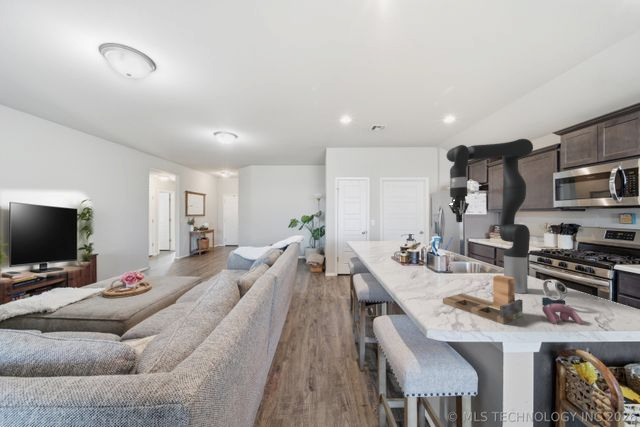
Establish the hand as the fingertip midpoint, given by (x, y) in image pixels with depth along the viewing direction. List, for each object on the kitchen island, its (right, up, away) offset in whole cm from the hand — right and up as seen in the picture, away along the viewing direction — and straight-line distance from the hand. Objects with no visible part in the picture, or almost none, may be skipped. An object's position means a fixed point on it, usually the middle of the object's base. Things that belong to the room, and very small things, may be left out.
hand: (459, 222), depth 120 cm
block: (+2, -32, -26) cm, 42 cm away
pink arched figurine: (+18, -35, -33) cm, 51 cm away
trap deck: (-4, -34, -22) cm, 41 cm away
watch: (+28, -35, -20) cm, 48 cm away
